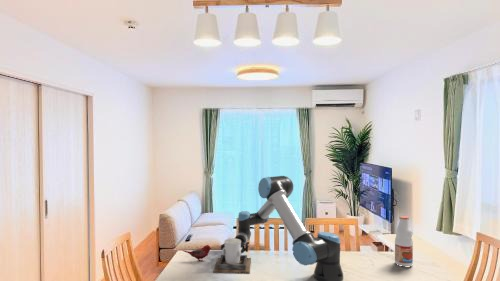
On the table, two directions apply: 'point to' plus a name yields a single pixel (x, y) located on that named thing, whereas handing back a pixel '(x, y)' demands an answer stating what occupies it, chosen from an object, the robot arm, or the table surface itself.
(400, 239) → the fruit juice
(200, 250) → the decorative bird figurine
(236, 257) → the candle holder
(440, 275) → the table surface
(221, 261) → the brown square wooden tray
